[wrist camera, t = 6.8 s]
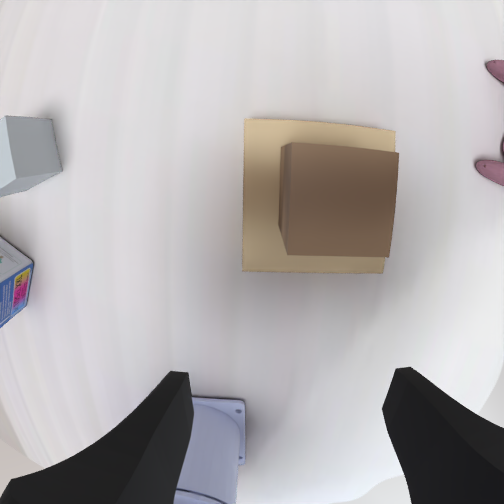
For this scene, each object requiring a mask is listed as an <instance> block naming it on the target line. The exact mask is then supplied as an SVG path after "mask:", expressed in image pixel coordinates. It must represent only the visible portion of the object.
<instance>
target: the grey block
mask: <svg viewBox="0 0 504 504" xmlns="http://www.w3.org/2000/svg"><path fill="white" fill-rule="evenodd" d="M60 172H62V167H61V163H60V159H59V154H58V150H57V145H56V140H55V135H54V130H53V125H52V119H43V118H32V117H20V116H4V117H3V118H2V119H0V197H2V196H6V195H10V194H14V193H18V192H23V191H26V190H28V189H30V188H32V187H34V186H35V185H37V184H39V183H41V182H43V181H45V180H47V179H48V178H50V177H52V176H54V175H56V174H58V173H60Z"/></svg>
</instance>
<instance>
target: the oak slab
mask: <svg viewBox="0 0 504 504" xmlns="http://www.w3.org/2000/svg"><path fill="white" fill-rule="evenodd" d="M291 142H296V143H312V144H325V145H337V146H348V147H357V148H366V149H374V150H382V151H390V152H395V131H390V130H384V129H377V128H370V127H362V126H354V125H345V124H336V123H325V122H313V121H298V120H279V119H244V177H243V259H242V271H249V272H297V273H383V269H384V262H385V257H345V256H299V255H287V253H286V249H285V246H284V242H283V239H282V236H281V232H280V229H279V226H278V218H279V191H280V158H281V147H282V146H284V145H287V144H289V143H291Z"/></svg>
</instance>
